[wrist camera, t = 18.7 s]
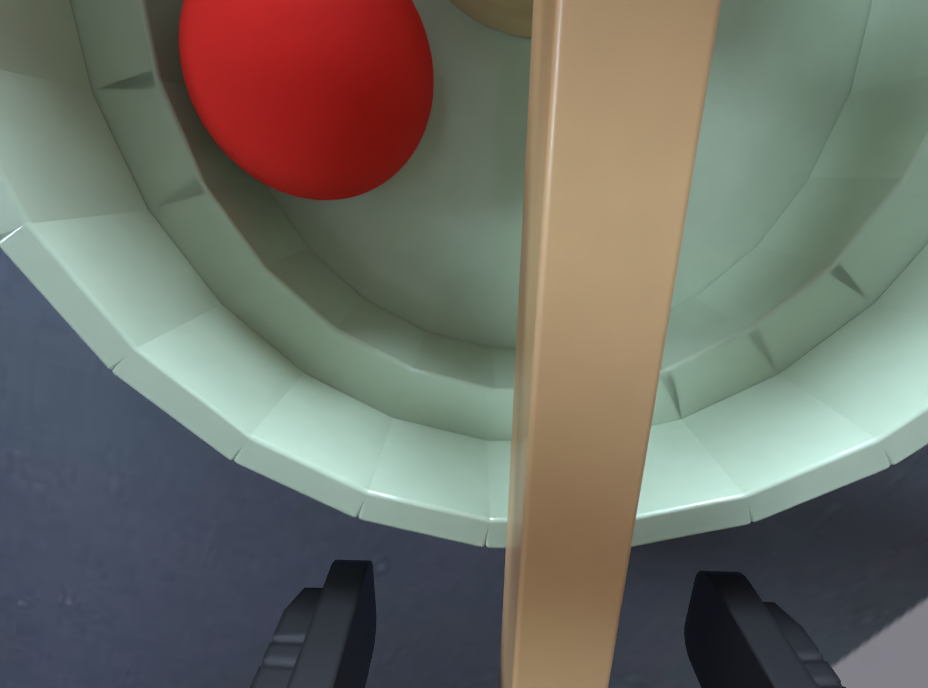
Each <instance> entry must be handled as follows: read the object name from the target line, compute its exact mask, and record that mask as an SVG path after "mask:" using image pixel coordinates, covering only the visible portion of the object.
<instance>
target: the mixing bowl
mask: <svg viewBox="0 0 928 688" xmlns="http://www.w3.org/2000/svg"><path fill="white" fill-rule="evenodd" d="M412 1H413V3H414V5H415V7H416V9H417V11H418V13H419V15H420V17H421V20H422V23H423V26H424V28H425V31H426V34H427V38H428V42H429V46H430V51H431V55H432V62H433V72H434V88H433V100H432V107H431V112H430V116H429V120H428V123H427V126H426V129H425V132H424V134H423V136H422V139H421V141H420V143H419V145H418V147H417V148H416V150H415V151H414V153H413V155H412V156H411V158H410V159H409V160H408V161H407V163H406V164H405V165H404V166H403V167H402V168H401V169H400V170H399V171H398V172H397V173H396V174H395V175H394V176H393V177H392V178H390V179H389V180H388V181H386V182H385V183H383V184H382V185H380V186H378V187H377V188H375V189H373V190H371V191H369V192H366V193H364V194H361V195H358V196H355V197H351V198H346V199H339V200H312V199H306V198H300V197H296V196H292V195H289V194H286V193H283V192H281V191H278V190H276V189H273V188H271V187H269V186H267V185H266V184H264V183H262V182H260V181H258V180H257V179H255V178H254V177H252V176H251V175H249V174H248V173H247V172H245V171H244V170H243V169H241V168H240V167H239V166H238V165H237V164H236V163H235V162H234V161H233V160H231V159H230V158H229V157H228V156H227V155H226V154H225V153H224V152H223V151H222V149H221V148H220V147H219V146H218V145H217V143H216V142H215V141H214V140H213V139H212V137H211V136H210V134H209V133H208V131H207V129H206V128H205V126H204V125H203V123H202V122H201V120H200V118H199V116H198V114H197V112H196V110H195V108H194V106H193V103H192V101H191V99H190V96H189V93H188V91H187V88H186V85H185V82H184V77H183V73H182V68H181V63H180V52H179V40H178V37H179V20H180V14H181V10H182V5H183V0H0V248H1V249H2V250H3V251H4V253H5V254H6V255H7V256H8V257H9V258H10V259H11V260H12V261H13V263H14V264H15V265H16V266H17V267H18V268H19V269H20V270H21V272H22V273H23V274H24V275H25V276H26V277H27V278H28V279H29V280H30V282H31V283H32V284H33V285H34V286H35V287H36V288H37V289H38V291H39V292H40V293H41V294H42V295H43V296H44V297H45V298H46V299H47V301H48V302H49V303H50V304H51V305H52V306H53V307H54V308H55V310H56V311H57V312H58V313H59V314H60V315H61V316H62V317H63V318H64V320H65V321H66V322H67V323H68V324H69V325H70V326H71V327H72V329H73V330H74V331H75V332H76V333H77V334H78V335H79V336H80V337H81V339H82V340H83V341H84V342H85V343H86V344H87V345H88V346H89V348H90V349H91V350H92V351H93V352H94V353H95V354H96V355H97V356H98V358H99V359H100V360H101V361H102V362H103V363H104V364H105V365H106V367H107V368H109V369H113V373H114V374H115V375H116V376H117V377H119V378H120V379H121V380H123V381H124V382H125V383H127V384H128V385H129V386H131V387H132V388H134V389H135V390H136V391H138V392H139V393H140V394H142V395H143V396H144V397H146V398H147V399H148V400H150V401H151V402H152V403H154V404H155V405H156V406H158V407H159V408H160V409H162V410H163V411H164V412H166V413H167V414H168V415H170V416H171V417H172V418H174V419H175V420H176V421H178V422H179V423H180V424H182V425H183V426H185V427H186V428H187V429H189V430H190V431H191V432H193V433H194V434H195V435H197V436H198V437H199V438H201V439H202V440H203V441H205V442H206V443H207V444H209V445H210V446H211V447H213V448H214V449H215V450H217V451H218V452H219V453H221V454H222V455H223V456H225V457H226V458H227V459H229V460H233V459H235V462H236V463H237V464H239V465H241V466H243V467H246V468H248V469H250V470H252V471H254V472H256V473H259V474H261V475H263V476H265V477H267V478H269V479H272V480H274V481H276V482H278V483H280V484H282V485H285V486H287V487H289V488H291V489H293V490H295V491H297V492H300V493H302V494H304V495H306V496H308V497H310V498H313V499H315V500H317V501H319V502H321V503H323V504H326V505H328V506H330V507H332V508H334V509H336V510H339V511H341V512H343V513H345V514H347V515H349V516H352V517H357V516H358V515H359V519H361V520H363V521H368V522H372V523H377V524H381V525H386V526H390V527H394V528H399V529H403V530H408V531H412V532H417V533H421V534H425V535H430V536H434V537H439V538H443V539H448V540H452V541H456V542H461V543H465V544H470V545H474V546H479V547H484V545H485V544H486V546H487V547H488V548H506V537H507V517H508V497H509V477H510V457H511V437H512V417H513V397H514V377H515V358H516V338H517V318H518V298H519V278H520V258H521V238H522V218H523V198H524V178H525V158H526V139H527V119H528V99H529V79H530V59H531V39H532V37H525V36H517V35H512V34H508V33H504V32H500V31H498V30H495V29H493V28H490V27H488V26H485V25H483V24H481V23H480V22H478V21H476V20H474V19H473V18H471V17H469V16H468V15H466V14H465V13H464V12H462V11H461V10H460V9H459V8H457V7H456V6H455V5H454V4H452V3H451V2H450V1H449V0H412ZM927 444H928V0H721V6H720V12H719V18H718V24H717V31H716V37H715V43H714V49H713V55H712V61H711V67H710V73H709V79H708V85H707V91H706V97H705V103H704V109H703V115H702V121H701V127H700V133H699V139H698V146H697V152H696V158H695V164H694V170H693V176H692V182H691V188H690V194H689V200H688V206H687V212H686V218H685V224H684V230H683V236H682V242H681V248H680V254H679V260H678V267H677V273H676V279H675V285H674V291H673V297H672V303H671V309H670V315H669V321H668V327H667V333H666V339H665V345H664V351H663V357H662V363H661V369H660V375H659V382H658V388H657V394H656V400H655V406H654V412H653V418H652V424H651V430H650V436H649V442H648V448H647V454H646V460H645V466H644V472H643V478H642V484H641V490H640V496H639V503H638V509H637V515H636V521H635V527H634V533H633V539H632V545H631V547H634V546H639V545H645V544H650V543H655V542H660V541H665V540H670V539H676V538H681V537H686V536H691V535H696V534H701V533H707V532H712V531H717V530H722V529H727V528H732V527H738V526H743V525H748V524H750V523H751V521H752V522H757V521H760V520H762V519H765V518H767V517H769V516H772V515H774V514H777V513H779V512H782V511H784V510H787V509H789V508H792V507H794V506H797V505H799V504H802V503H804V502H806V501H809V500H811V499H814V498H816V497H819V496H821V495H824V494H826V493H829V492H831V491H834V490H836V489H839V488H841V487H843V486H846V485H848V484H851V483H853V482H856V481H858V480H861V479H863V478H866V477H868V476H871V475H873V474H876V473H878V472H880V471H883V470H885V469H888V468H889V467H890V465H891V464H892V465H895V464H898V463H899V462H901V461H902V460H904V459H905V458H907V457H909V456H910V455H912V454H913V453H915V452H916V451H918V450H919V449H921V448H923V447H924V446H926V445H927Z"/></svg>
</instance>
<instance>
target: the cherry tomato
mask: <svg viewBox="0 0 928 688" xmlns="http://www.w3.org/2000/svg"><path fill="white" fill-rule="evenodd" d="M178 40H179V52H180V63H181V68H182V73H183V77H184V82H185V85H186V88H187V91H188V93H189V96H190V99H191V101H192V103H193V106H194V108H195V110H196V112H197V114H198V116H199V118H200V120H201V122H202V123H203V125H204V126H205V128H206V129H207V131H208V133H209V134H210V136H211V137H212V139H213V140H214V141H215V142H216V143H217V145H218V146H219V147H220V148H221V149H222V151H223V152H224V153H225V154H226V155H227V156H228V157H229V158H230V159H231V160H233V161H234V162H235V163H236V164H237V165H238V166H239V167H240V168H241V169H243V170H244V171H245V172H247V173H248V174H249V175H251V176H252V177H254V178H255V179H257V180H258V181H260V182H262V183H264V184H266V185H267V186H269V187H271V188H273V189H276V190H278V191H281V192H283V193H286V194H289V195H292V196H296V197H300V198H306V199H312V200H339V199H346V198H351V197H355V196H358V195H361V194H364V193H366V192H369V191H371V190H373V189H375V188H377V187H378V186H380V185H382V184H383V183H385V182H386V181H388V180H389V179H390V178H392V177H393V176H394V175H395V174H396V173H397V172H398V171H399V170H400V169H401V168H402V167H403V166H404V165H405V164H406V163H407V161H408V160H409V159H410V158H411V156H412V155H413V153H414V151H415V150H416V148H417V147H418V145H419V143H420V141H421V139H422V136H423V134H424V132H425V129H426V126H427V123H428V120H429V116H430V112H431V107H432V100H433V88H434V72H433V62H432V55H431V51H430V46H429V42H428V38H427V34H426V31H425V28H424V26H423V23H422V20H421V17H420V15H419V13H418V11H417V9H416V7H415V5H414V3H413V1H412V0H183V5H182V10H181V14H180V20H179V37H178Z"/></svg>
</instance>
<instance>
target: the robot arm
mask: <svg viewBox="0 0 928 688" xmlns="http://www.w3.org/2000/svg"><path fill="white" fill-rule="evenodd" d="M375 634H376V603H375V589H374V575H373V564H372V561H363V560H335V561H334V562H333V563H332V565H331V568H330V570H329V573H328V576H327V579H326V581H325V584H324V587H323V588H304V589H303V590H302V591H301V592H300V593H299V594H298V596H297V597H296V598H295V599H294V600H293V601H292V602H291V603H290V604H289V605H288V606H287V608H286V609H285V610H284V612H283V614H282V616H281V619H280V621H279V623H278V625H277V628H276V630H275V632H274V634H273V637H272V642H271V643H270V644H269V646H268V648H267V650H266V653H265V655H264V657H263V659H262V665H261V666H259V668H258V671H257V673H256V675H255V678H254V680H253V682H252V684H251V687H250V688H365V685H366V681H367V676H368V671H369V667H370V662H371V658H372V653H373V648H374V642H375ZM684 636H685V645H686V649H687V653H688V657H689V660H690V662H691V665H692V667H693V669H694V672H695V674H696V676H697V678H698V681H699V683H700V685H701V688H846V687H843V686H842V685H841V681H840V679H839V678H838V676H837V675H836V673H835V672H834V670H833V669H832V668H831V666H830V665H829V663H828V662H825V661H824V660H823V655H822V654H821V652H820V651H819V650H818V648H817V647H816V645H815V644H814V643H813V641H812V640H811V638H810V637H809V636H808V634H807V633H806V631H805V630H804V629H803V627H802V626H801V625H800V624H798V623H797V622H796V621H795V620H794V619H793V618H791V617H790V616H789V615H788V614H787V613H786V612H785V611H783V610H782V609H781V608H780V607H779V606H778V605H776V604H775V603H774V602H762V600H761V599H760V597H759V596H758V594H757V593H756V591H755V590H754V588H753V587H752V585H751V584H750V582H749V581H748V579H747V578H746V577H745V576H744V575H743V574H742V573H740V572H722V571H699V572H698V573H697V575H696V578H695V582H694V586H693V591H692V595H691V600H690V604H689V608H688V613H687V617H686V622H685V627H684Z"/></svg>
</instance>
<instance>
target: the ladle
mask: <svg viewBox="0 0 928 688" xmlns="http://www.w3.org/2000/svg"><path fill="white" fill-rule="evenodd" d="M449 1H450V2H451V3H452V4H454V5H455V6H456V7H457V8H459V9H460V10H461V11H462V12H464V13H465V14H466V15H468V16H469V17H471V18H473V19H474V20H476V21H478V22H480V23H481V24H483V25H485V26H488V27H490V28H493V29H495V30H498V31H500V32H504V33H508V34H512V35H517V36H525V37H532V39H531V59H530V79H529V99H528V119H527V139H526V158H525V178H524V198H523V218H522V238H521V258H520V278H519V298H518V318H517V338H516V358H515V377H514V397H513V417H512V437H511V457H510V477H509V497H508V517H507V537H506V557H505V577H504V597H503V616H502V636H501V656H500V676H499V688H608V684H609V678H610V672H611V666H612V660H613V654H614V648H615V642H616V636H617V630H618V624H619V618H620V611H621V605H622V599H623V593H624V587H625V581H626V575H627V569H628V563H629V557H630V551H631V545H632V539H633V533H634V527H635V521H636V515H637V509H638V503H639V496H640V490H641V484H642V478H643V472H644V466H645V460H646V454H647V448H648V442H649V436H650V430H651V424H652V418H653V412H654V406H655V400H656V394H657V388H658V382H659V375H660V369H661V363H662V357H663V351H664V345H665V339H666V333H667V327H668V321H669V315H670V309H671V303H672V297H673V291H674V285H675V279H676V273H677V267H678V260H679V254H680V248H681V242H682V236H683V230H684V224H685V218H686V212H687V206H688V200H689V194H690V188H691V182H692V176H693V170H694V164H695V158H696V152H697V146H698V139H699V133H700V127H701V121H702V115H703V109H704V103H705V97H706V91H707V85H708V79H709V73H710V67H711V61H712V55H713V49H714V43H715V37H716V31H717V24H718V18H719V12H720V6H721V0H449Z"/></svg>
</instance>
